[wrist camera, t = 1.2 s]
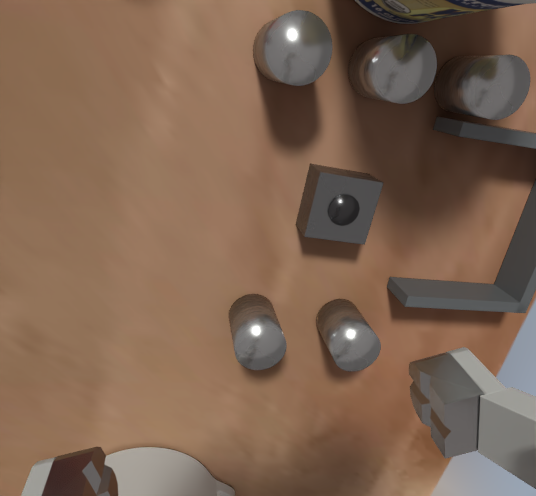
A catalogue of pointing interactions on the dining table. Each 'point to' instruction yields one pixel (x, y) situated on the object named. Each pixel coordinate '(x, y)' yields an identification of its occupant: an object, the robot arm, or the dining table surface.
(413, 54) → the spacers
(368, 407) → the dining table surface
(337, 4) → the dining table surface
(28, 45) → the dining table surface
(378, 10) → the supplement tub
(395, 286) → the tray
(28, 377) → the dining table surface
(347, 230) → the grey square block
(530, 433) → the robot arm
